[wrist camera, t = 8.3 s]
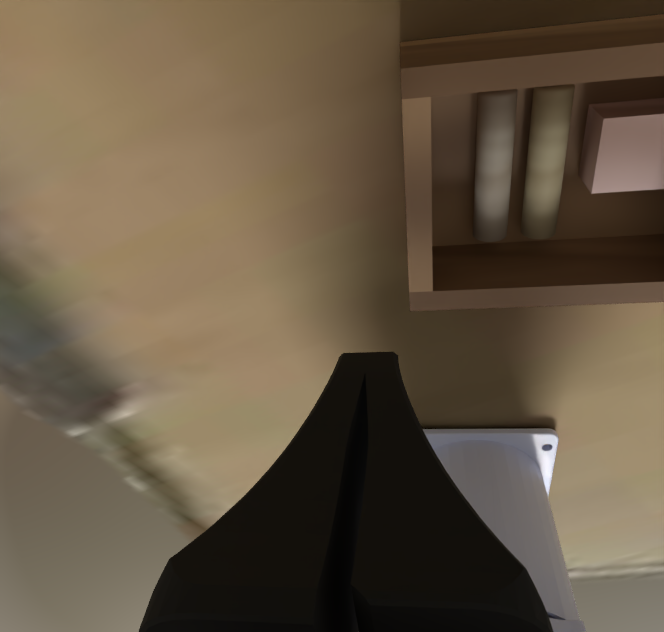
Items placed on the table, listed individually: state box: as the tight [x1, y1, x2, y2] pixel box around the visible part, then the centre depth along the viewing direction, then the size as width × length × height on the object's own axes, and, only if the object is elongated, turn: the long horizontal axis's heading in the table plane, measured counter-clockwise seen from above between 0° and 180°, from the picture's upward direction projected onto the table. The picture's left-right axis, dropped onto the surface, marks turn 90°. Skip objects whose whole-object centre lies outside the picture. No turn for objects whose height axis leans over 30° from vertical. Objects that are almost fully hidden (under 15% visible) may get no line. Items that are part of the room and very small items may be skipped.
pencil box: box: [400, 14, 664, 311], centre depth 18 cm, size 8×16×4 cm, turn 97°
